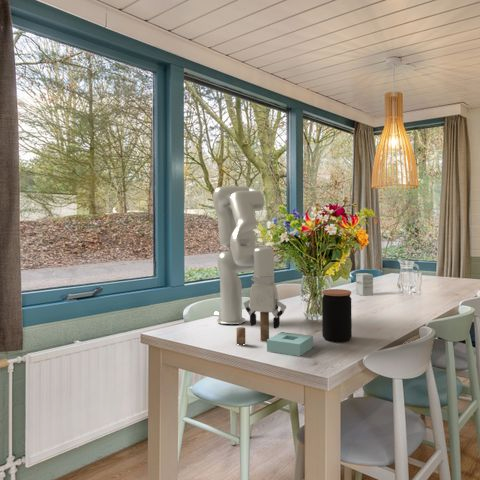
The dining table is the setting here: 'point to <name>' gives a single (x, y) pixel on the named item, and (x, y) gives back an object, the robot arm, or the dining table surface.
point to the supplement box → (364, 284)
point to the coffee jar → (336, 315)
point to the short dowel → (240, 335)
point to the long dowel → (264, 325)
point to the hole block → (290, 343)
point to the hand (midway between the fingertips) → (264, 326)
